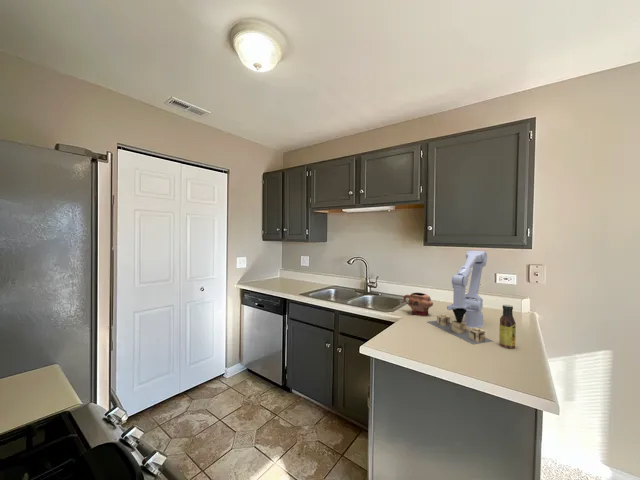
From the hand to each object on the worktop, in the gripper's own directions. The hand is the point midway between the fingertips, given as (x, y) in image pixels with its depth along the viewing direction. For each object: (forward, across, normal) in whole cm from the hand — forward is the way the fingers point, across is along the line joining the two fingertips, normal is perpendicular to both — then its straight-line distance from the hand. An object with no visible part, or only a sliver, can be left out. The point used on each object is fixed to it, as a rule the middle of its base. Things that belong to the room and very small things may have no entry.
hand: (458, 322), depth 145 cm
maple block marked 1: (+5, 0, +12) cm, 13 cm away
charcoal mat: (+6, 0, +2) cm, 6 cm away
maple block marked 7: (+5, 0, -12) cm, 13 cm away
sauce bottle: (+6, +8, -22) cm, 24 cm away
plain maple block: (+5, 0, 0) cm, 5 cm away
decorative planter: (+6, 0, +34) cm, 35 cm away
